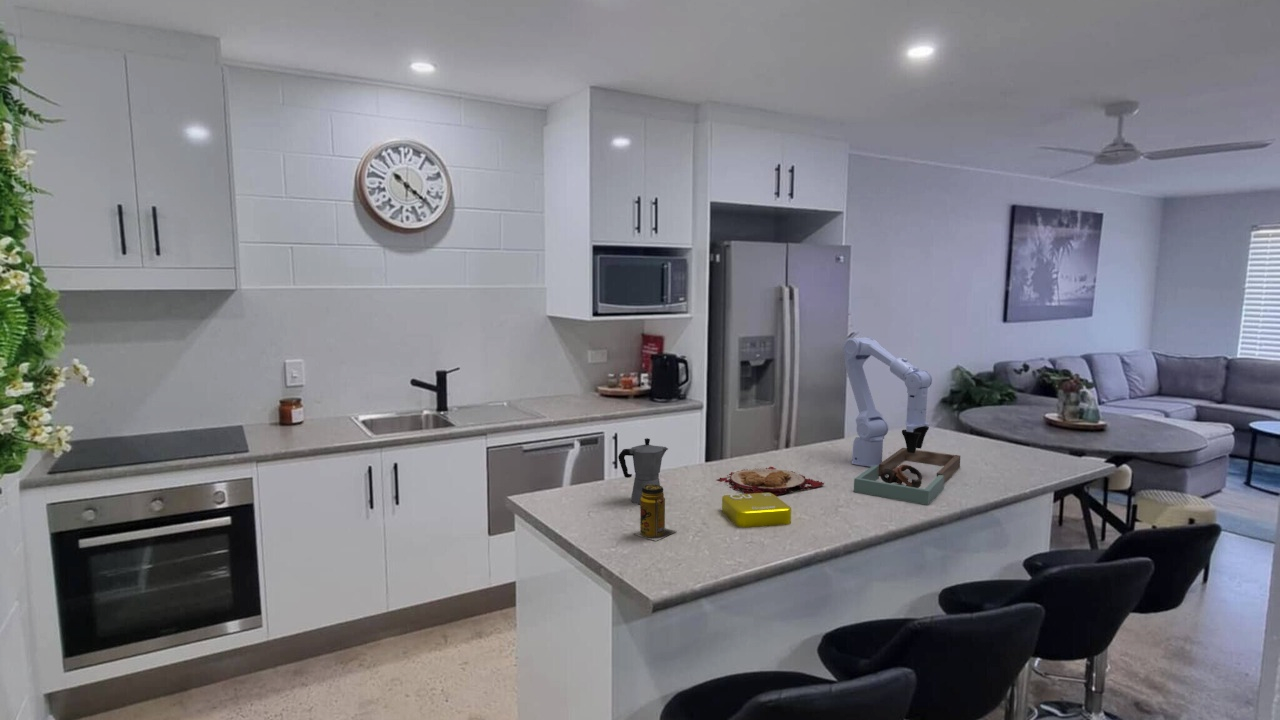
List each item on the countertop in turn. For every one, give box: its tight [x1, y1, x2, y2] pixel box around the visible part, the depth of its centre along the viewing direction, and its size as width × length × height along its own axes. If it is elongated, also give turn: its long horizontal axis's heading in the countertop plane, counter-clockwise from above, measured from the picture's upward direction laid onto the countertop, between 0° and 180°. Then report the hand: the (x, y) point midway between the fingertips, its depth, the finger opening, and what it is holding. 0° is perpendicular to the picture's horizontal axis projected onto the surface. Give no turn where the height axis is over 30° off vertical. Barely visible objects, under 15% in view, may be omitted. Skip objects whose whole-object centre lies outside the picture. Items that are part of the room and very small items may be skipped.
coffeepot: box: [617, 437, 669, 506], centre depth 194 cm, size 15×9×18 cm, turn 116°
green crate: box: [853, 465, 945, 506], centre depth 207 cm, size 21×20×4 cm
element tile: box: [721, 493, 792, 529], centre depth 183 cm, size 15×15×5 cm
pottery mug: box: [879, 464, 923, 488], centre depth 208 cm, size 12×10×8 cm
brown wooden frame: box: [878, 447, 961, 484], centre depth 227 cm, size 19×28×4 cm
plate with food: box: [716, 466, 825, 497], centre depth 214 cm, size 25×26×4 cm
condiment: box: [634, 484, 677, 542], centre depth 169 cm, size 7×8×12 cm
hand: (914, 450), depth 221 cm, fingers open, 7 cm apart
